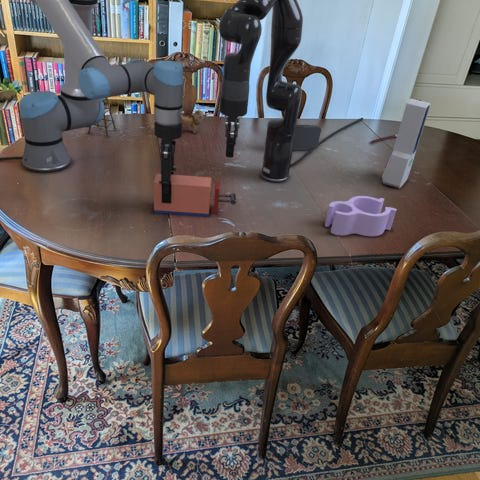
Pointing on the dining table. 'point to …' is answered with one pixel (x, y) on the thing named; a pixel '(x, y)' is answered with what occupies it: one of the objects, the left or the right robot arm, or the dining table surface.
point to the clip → (359, 216)
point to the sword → (383, 138)
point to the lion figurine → (193, 120)
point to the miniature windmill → (105, 119)
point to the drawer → (217, 195)
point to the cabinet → (184, 195)
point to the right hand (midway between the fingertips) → (229, 156)
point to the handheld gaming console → (306, 137)
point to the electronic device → (406, 143)
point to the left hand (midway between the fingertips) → (167, 196)
